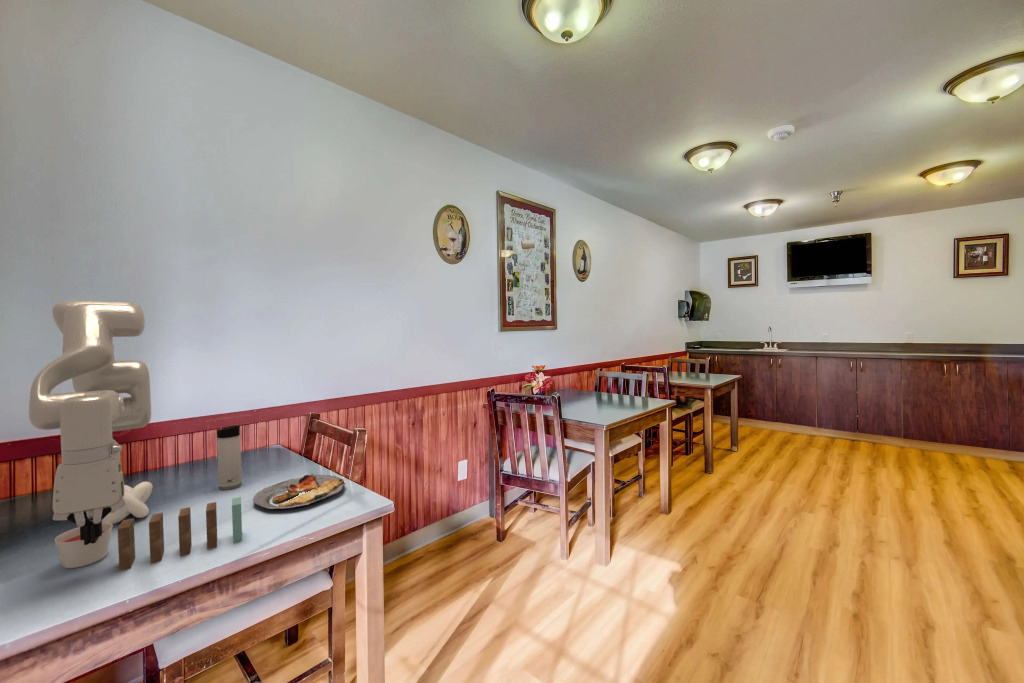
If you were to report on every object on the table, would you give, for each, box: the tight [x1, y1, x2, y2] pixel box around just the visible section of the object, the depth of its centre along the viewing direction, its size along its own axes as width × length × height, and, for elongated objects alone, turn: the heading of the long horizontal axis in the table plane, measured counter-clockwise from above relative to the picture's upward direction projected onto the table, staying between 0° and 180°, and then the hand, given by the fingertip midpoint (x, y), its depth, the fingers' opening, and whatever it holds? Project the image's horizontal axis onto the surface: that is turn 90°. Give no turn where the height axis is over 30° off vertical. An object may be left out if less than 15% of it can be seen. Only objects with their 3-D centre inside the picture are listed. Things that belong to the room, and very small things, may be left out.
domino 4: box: [205, 501, 218, 550], centre depth 99 cm, size 2×5×9 cm, turn 34°
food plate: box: [252, 473, 346, 510], centre depth 127 cm, size 25×23×4 cm
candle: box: [54, 523, 114, 569], centre depth 92 cm, size 9×9×6 cm
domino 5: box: [231, 496, 243, 544], centre depth 101 cm, size 2×5×9 cm, turn 33°
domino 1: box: [117, 517, 136, 572], centre depth 90 cm, size 2×5×9 cm, turn 34°
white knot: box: [94, 481, 153, 525], centre depth 113 cm, size 11×12×9 cm
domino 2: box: [148, 512, 165, 564], centre depth 93 cm, size 2×5×9 cm, turn 34°
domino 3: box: [177, 506, 192, 557], centre depth 96 cm, size 2×5×9 cm, turn 34°
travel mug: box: [216, 424, 243, 491], centre depth 135 cm, size 6×7×20 cm
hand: (91, 541), depth 87 cm, fingers closed
